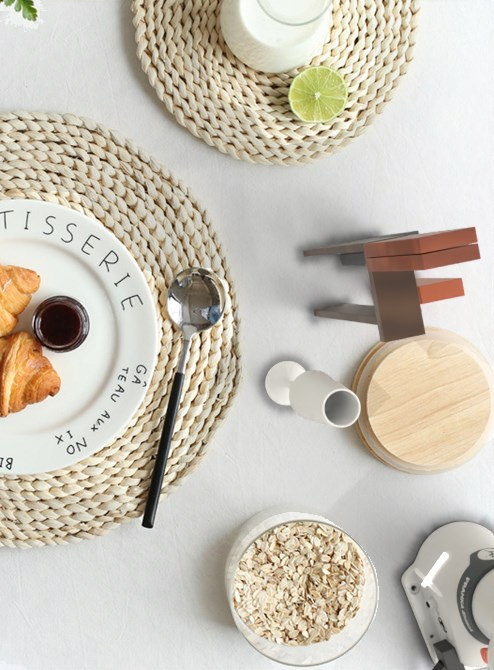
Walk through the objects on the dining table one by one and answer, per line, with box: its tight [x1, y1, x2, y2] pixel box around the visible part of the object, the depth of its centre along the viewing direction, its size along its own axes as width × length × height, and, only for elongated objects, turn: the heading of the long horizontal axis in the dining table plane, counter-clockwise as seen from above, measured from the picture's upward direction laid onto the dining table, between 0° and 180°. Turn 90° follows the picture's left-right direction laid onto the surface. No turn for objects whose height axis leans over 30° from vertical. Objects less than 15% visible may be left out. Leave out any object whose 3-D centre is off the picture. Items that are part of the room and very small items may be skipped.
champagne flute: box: [264, 360, 362, 429], centre depth 111 cm, size 7×7×24 cm
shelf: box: [363, 226, 482, 343], centre depth 91 cm, size 12×6×16 cm, turn 11°
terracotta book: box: [415, 277, 466, 305], centre depth 117 cm, size 2×6×15 cm, turn 101°
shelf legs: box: [302, 236, 397, 326], centre depth 111 cm, size 10×5×24 cm, turn 11°
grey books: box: [339, 230, 420, 267], centre depth 116 cm, size 3×6×15 cm, turn 101°
